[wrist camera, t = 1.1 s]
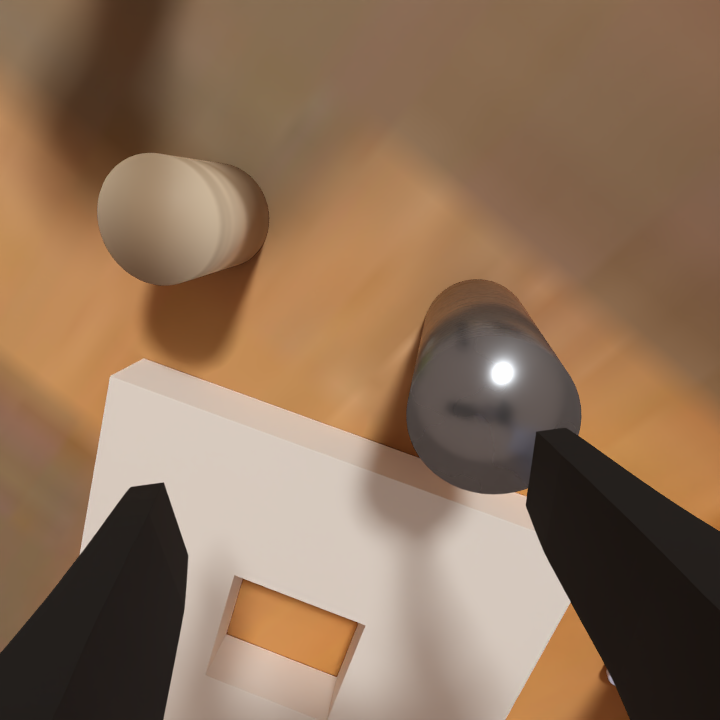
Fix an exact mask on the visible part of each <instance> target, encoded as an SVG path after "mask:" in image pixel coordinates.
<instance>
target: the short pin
mask: <svg viewBox="0 0 720 720" xmlns="http://www.w3.org/2000/svg"><path fill="white" fill-rule="evenodd" d="M97 218H98V225H99V229H100V233H101V236H102V239H103V241H104V244H105V246H106V247H107V249H108V251H109V253H110V254H111V256H112V257H113V258H114V260H115V261H116V262H117V263H118V264H119V265H120V266H121V267H122V268H123V269H124V270H125V271H126V272H128V273H129V274H130V275H132V276H134V277H135V278H137V279H139V280H141V281H144V282H147V283H150V284H154V285H175V284H179V283H182V282H185V281H189V280H192V279H195V278H198V277H201V276H205V275H208V274H211V273H214V272H217V271H221V270H224V269H227V268H230V267H233V266H236V265H240V264H242V263H244V262H246V261H248V260H249V259H251V258H252V257H253V256H254V255H255V254H256V253H257V252H258V251H259V250H260V248H261V247H262V245H263V243H264V241H265V239H266V236H267V233H268V228H269V211H268V205H267V202H266V199H265V197H264V194H263V192H262V190H261V189H260V187H259V186H258V184H257V183H256V182H255V181H254V180H253V179H252V178H251V177H250V176H249V175H248V174H247V173H245V172H244V171H242V170H241V169H239V168H237V167H235V166H232V165H228V164H223V163H217V162H211V161H204V160H198V159H191V158H185V157H178V156H172V155H165V154H158V153H142V154H137V155H134V156H131V157H129V158H127V159H125V160H123V161H122V162H120V163H119V164H118V165H116V166H115V167H114V168H113V170H112V171H111V172H110V173H109V175H108V176H107V177H106V179H105V181H104V183H103V185H102V188H101V190H100V193H99V198H98V206H97Z"/></svg>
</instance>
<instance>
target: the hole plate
mask: <svg viewBox="0 0 720 720" xmlns="http://www.w3.org/2000/svg"><path fill="white" fill-rule="evenodd" d="M163 482H164V484H165V487H166V490H167V493H168V496H169V499H170V502H171V505H172V508H173V511H174V514H175V517H176V520H177V523H178V526H179V529H180V532H181V535H182V538H183V541H184V544H185V547H186V550H187V553H188V571H187V587H186V599H185V610H184V615H183V621H182V626H181V632H180V637H179V642H178V647H177V653H176V658H175V663H174V668H173V673H172V678H171V683H170V689H169V694H168V699H167V704H166V709H165V714H164V719H163V720H505V719H506V717H507V715H508V714H509V712H510V710H511V708H512V706H513V705H514V703H515V701H516V699H517V697H518V696H519V694H520V692H521V690H522V688H523V687H524V685H525V683H526V681H527V679H528V678H529V676H530V674H531V672H532V670H533V669H534V667H535V665H536V663H537V661H538V660H539V658H540V656H541V654H542V652H543V651H544V649H545V647H546V645H547V643H548V642H549V640H550V638H551V636H552V634H553V633H554V631H555V629H556V627H557V625H558V624H559V622H560V620H561V618H562V616H563V615H564V613H565V611H566V609H567V607H568V606H569V604H570V600H569V598H568V596H567V594H566V593H565V591H564V589H563V587H562V585H561V583H560V582H559V580H558V578H557V576H556V574H555V572H554V570H553V569H552V567H551V565H550V563H549V561H548V559H547V557H546V555H545V553H544V551H543V549H542V546H541V544H540V541H539V539H538V537H537V534H536V532H535V529H534V526H533V524H532V521H531V519H530V516H529V513H528V511H527V508H526V499H527V497H526V496H523V495H520V494H517V493H515V492H513V493H507V494H480V493H475V492H470V491H467V490H463V489H460V488H458V487H456V486H453V485H451V484H449V483H448V482H446V481H444V480H443V479H441V478H440V477H438V476H437V475H436V474H434V473H433V472H432V471H431V470H430V469H429V468H428V467H427V466H426V465H425V464H424V462H423V461H422V460H421V459H420V458H418V457H415V456H412V455H410V454H407V453H404V452H401V451H399V450H396V449H393V448H390V447H387V446H385V445H382V444H379V443H376V442H374V441H371V440H368V439H365V438H363V437H360V436H357V435H354V434H352V433H349V432H346V431H343V430H340V429H338V428H335V427H332V426H329V425H327V424H324V423H321V422H318V421H316V420H313V419H310V418H307V417H305V416H302V415H299V414H296V413H293V412H291V411H288V410H285V409H282V408H280V407H277V406H274V405H271V404H269V403H266V402H263V401H260V400H257V399H255V398H252V397H249V396H246V395H244V394H241V393H238V392H235V391H233V390H230V389H227V388H224V387H222V386H219V385H216V384H213V383H210V382H208V381H205V380H202V379H199V378H197V377H194V376H191V375H188V374H186V373H183V372H180V371H177V370H175V369H172V368H169V367H166V366H163V365H161V364H158V363H155V362H152V361H150V360H147V359H142V360H140V361H138V362H136V363H134V364H132V365H130V366H128V367H127V368H125V369H123V370H121V371H119V372H117V373H115V374H113V375H111V376H110V380H109V386H108V392H107V398H106V404H105V410H104V416H103V421H102V427H101V433H100V439H99V445H98V451H97V456H96V462H95V468H94V474H93V480H92V486H91V492H90V497H89V503H88V509H87V515H86V521H85V527H84V533H83V538H82V544H81V550H80V554H81V553H82V552H83V550H84V549H85V547H86V546H87V545H88V543H89V542H90V541H91V539H92V538H93V537H94V535H95V534H96V533H97V531H98V530H99V528H100V527H101V526H102V524H103V523H104V522H105V520H106V519H107V517H108V516H109V515H110V513H111V512H112V510H113V509H114V508H115V506H116V505H117V504H118V502H119V501H120V499H121V498H122V497H123V495H124V494H125V493H126V492H127V490H128V489H129V488H130V487H133V486H141V485H148V484H155V483H163ZM243 579H246V580H248V581H251V582H253V583H256V584H259V585H261V586H264V587H266V588H269V589H272V590H274V591H277V592H280V593H282V594H285V595H287V596H290V597H293V598H295V599H298V600H300V601H303V602H306V603H308V604H311V605H314V606H316V607H319V608H321V609H324V610H327V611H329V612H332V613H334V614H337V615H340V616H342V617H345V618H348V619H350V620H353V621H355V622H358V626H357V628H356V631H355V633H354V636H353V638H352V641H351V643H350V646H349V648H348V651H347V653H346V656H345V658H344V661H343V663H342V666H341V668H340V671H339V673H338V676H337V677H335V676H332V675H330V674H327V673H325V672H322V671H320V670H317V669H314V668H312V667H309V666H307V665H304V664H302V663H299V662H296V661H294V660H291V659H289V658H286V657H284V656H281V655H278V654H276V653H273V652H271V651H268V650H266V649H263V648H261V647H258V646H255V645H253V644H250V643H248V642H245V641H243V640H240V639H237V638H235V637H232V636H230V635H227V630H228V627H229V623H230V620H231V617H232V613H233V610H234V607H235V603H236V600H237V597H238V593H239V590H240V586H241V583H242V580H243Z"/></svg>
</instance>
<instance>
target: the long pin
mask: <svg viewBox="0 0 720 720" xmlns="http://www.w3.org/2000/svg"><path fill="white" fill-rule="evenodd" d="M580 425H581V405H580V400H579V395H578V392H577V390H576V387H575V384H574V383H573V381H572V379H571V377H570V375H569V374H568V372H567V371H566V369H565V368H564V366H563V365H562V363H561V362H560V360H559V359H558V357H557V356H556V354H555V353H554V351H553V350H552V349H551V347H550V346H549V344H548V343H547V341H546V340H545V338H544V337H543V335H542V334H541V332H540V331H539V329H538V328H537V326H536V325H535V323H534V322H533V320H532V319H531V317H530V316H529V314H528V313H527V311H526V310H525V308H524V307H523V305H522V304H521V303H520V301H519V300H518V298H517V297H516V296H515V295H514V294H513V293H512V292H511V291H509V290H508V289H507V288H505V287H503V286H502V285H500V284H497V283H495V282H492V281H488V280H477V279H474V280H466V281H462V282H459V283H456V284H454V285H452V286H450V287H448V288H447V289H445V290H444V291H443V292H442V293H440V294H439V295H438V296H437V297H436V299H435V300H434V301H433V303H432V304H431V306H430V307H429V310H428V312H427V314H426V318H425V322H424V327H423V331H422V336H421V341H420V346H419V350H418V355H417V360H416V365H415V369H414V374H413V379H412V384H411V388H410V393H409V398H408V404H407V427H408V432H409V436H410V439H411V442H412V444H413V446H414V449H415V450H416V452H417V454H418V455H419V457H420V459H421V460H422V461H423V462H424V464H425V465H426V466H427V467H428V468H429V469H430V470H431V471H432V472H433V473H434V474H436V475H437V476H438V477H440V478H441V479H443V480H444V481H446V482H448V483H449V484H451V485H453V486H456V487H458V488H460V489H463V490H467V491H470V492H475V493H480V494H507V493H513V492H517V491H521V490H524V489H527V488H528V485H529V478H530V471H531V464H532V457H533V451H534V444H535V437H536V431H544V430H551V429H558V428H567V429H569V430H570V431H572V432H573V433H575V434H576V435H578V434H579V430H580Z"/></svg>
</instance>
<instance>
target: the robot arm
mask: <svg viewBox="0 0 720 720" xmlns="http://www.w3.org/2000/svg"><path fill="white" fill-rule="evenodd" d="M526 508H527V511H528V513H529V516H530V519H531V521H532V524H533V526H534V529H535V532H536V534H537V537H538V539H539V541H540V544H541V546H542V549H543V551H544V553H545V555H546V557H547V559H548V561H549V563H550V565H551V567H552V569H553V570H554V572H555V574H556V576H557V578H558V580H559V582H560V583H561V585H562V587H563V589H564V591H565V593H566V594H567V596H568V598H569V600H570V602H571V604H572V605H573V607H574V609H575V611H576V613H577V614H578V616H579V618H580V620H581V622H582V624H583V625H584V627H585V629H586V631H587V633H588V635H589V636H590V638H591V640H592V642H593V644H594V645H595V647H596V649H597V651H598V653H599V655H600V656H601V658H602V660H603V662H604V664H605V666H606V668H607V671H606V673H607V677H608V680H609V681H610V683H611V684H613V685H614V686H616V688H617V690H618V693H619V695H620V697H621V700H622V702H623V704H624V706H625V709H626V711H627V713H628V716H629V718H630V720H720V531H718V530H716V529H715V528H713V527H712V526H710V525H708V524H707V523H705V522H704V521H702V520H700V519H699V518H697V517H695V516H694V515H692V514H691V513H689V512H688V511H686V510H684V509H683V508H681V507H680V506H678V505H677V504H675V503H674V502H672V501H671V500H669V499H668V498H666V497H665V496H663V495H662V494H660V493H659V492H657V491H656V490H654V489H653V488H651V487H650V486H649V485H647V484H646V483H644V482H643V481H641V480H640V479H638V478H637V477H636V476H634V475H633V474H631V473H630V472H628V471H627V470H626V469H624V468H623V467H621V466H620V465H619V464H617V463H616V462H614V461H613V460H612V459H610V458H609V457H607V456H606V455H605V454H603V453H602V452H600V451H599V450H598V449H596V448H595V447H593V446H592V445H591V444H589V443H588V442H586V441H585V440H584V439H582V438H581V437H579V436H578V435H576V434H575V433H573V432H572V431H570V430H569V429H567V428H558V429H551V430H544V431H536V437H535V444H534V451H533V457H532V464H531V471H530V478H529V485H528V492H527V499H526ZM187 571H188V553H187V550H186V547H185V544H184V541H183V538H182V535H181V532H180V529H179V526H178V523H177V520H176V517H175V514H174V511H173V508H172V505H171V502H170V499H169V496H168V493H167V490H166V487H165V484H164V482H163V483H155V484H148V485H141V486H133V487H130V488H129V489H128V490H127V492H126V493H125V494H124V495H123V497H122V498H121V499H120V501H119V502H118V504H117V505H116V506H115V508H114V509H113V510H112V512H111V513H110V515H109V516H108V517H107V519H106V520H105V522H104V523H103V524H102V526H101V527H100V528H99V530H98V531H97V533H96V534H95V535H94V537H93V538H92V539H91V541H90V542H89V543H88V545H87V546H86V547H85V549H84V550H83V552H82V553H81V554H80V556H79V557H78V558H77V559H76V561H75V562H74V563H73V565H72V566H71V567H70V569H69V570H68V571H67V572H66V574H65V575H64V576H63V578H62V579H61V580H60V582H59V583H58V584H57V585H56V587H55V588H54V589H53V591H52V592H51V593H50V594H49V596H48V597H47V598H46V599H45V601H44V602H43V603H42V604H41V605H40V607H39V608H38V609H37V610H36V611H35V613H34V614H33V615H32V616H31V617H30V619H29V620H28V621H27V622H26V623H25V625H24V626H23V627H22V628H21V629H20V631H19V632H18V633H17V634H16V635H15V637H14V638H13V639H12V640H11V641H10V643H9V644H8V645H7V646H6V647H5V648H4V650H3V651H2V652H1V653H0V720H163V719H164V714H165V709H166V704H167V699H168V694H169V689H170V683H171V678H172V673H173V668H174V663H175V658H176V653H177V647H178V642H179V637H180V632H181V626H182V621H183V615H184V610H185V599H186V587H187Z"/></svg>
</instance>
